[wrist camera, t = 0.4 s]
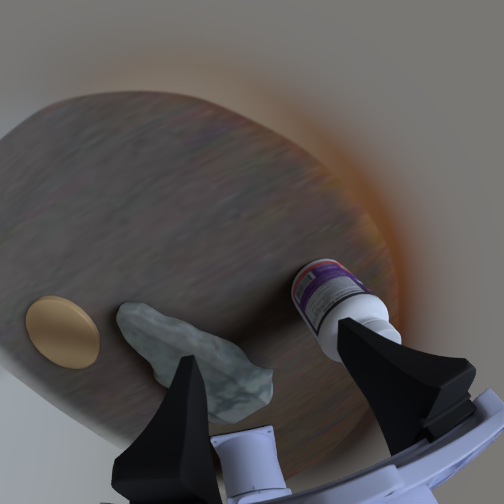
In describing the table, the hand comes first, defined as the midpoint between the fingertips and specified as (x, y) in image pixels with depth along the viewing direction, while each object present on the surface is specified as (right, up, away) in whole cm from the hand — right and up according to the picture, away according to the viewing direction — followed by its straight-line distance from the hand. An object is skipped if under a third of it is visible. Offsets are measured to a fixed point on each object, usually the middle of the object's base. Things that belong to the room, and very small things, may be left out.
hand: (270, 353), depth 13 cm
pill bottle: (+5, +2, +12) cm, 13 cm away
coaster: (-18, -3, +8) cm, 20 cm away
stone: (-6, -5, +12) cm, 14 cm away
